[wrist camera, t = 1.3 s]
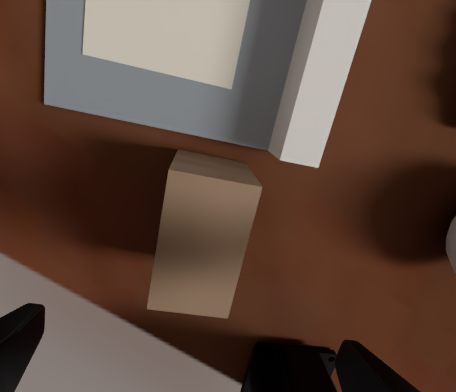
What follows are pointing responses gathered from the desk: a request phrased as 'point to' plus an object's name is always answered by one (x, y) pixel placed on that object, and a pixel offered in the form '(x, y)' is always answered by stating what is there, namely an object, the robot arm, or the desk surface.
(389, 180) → the desk surface
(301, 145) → the corner arena
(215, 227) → the walnut block
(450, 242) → the white egg
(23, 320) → the robot arm
